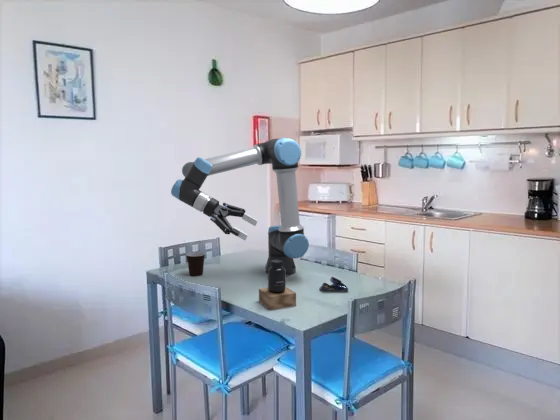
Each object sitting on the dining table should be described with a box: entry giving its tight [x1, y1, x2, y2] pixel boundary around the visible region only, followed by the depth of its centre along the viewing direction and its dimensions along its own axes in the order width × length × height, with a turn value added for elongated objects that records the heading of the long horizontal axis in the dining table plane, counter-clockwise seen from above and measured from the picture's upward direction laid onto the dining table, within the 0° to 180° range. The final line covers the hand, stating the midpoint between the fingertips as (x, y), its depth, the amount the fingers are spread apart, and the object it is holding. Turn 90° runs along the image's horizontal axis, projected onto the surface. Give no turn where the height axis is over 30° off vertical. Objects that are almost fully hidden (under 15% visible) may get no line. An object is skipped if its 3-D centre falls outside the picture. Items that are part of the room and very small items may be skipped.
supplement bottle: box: [267, 260, 287, 293], centre depth 176 cm, size 7×7×12 cm
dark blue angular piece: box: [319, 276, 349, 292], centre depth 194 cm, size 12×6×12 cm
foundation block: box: [258, 285, 297, 311], centre depth 177 cm, size 11×11×5 cm
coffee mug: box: [185, 251, 206, 277], centre depth 219 cm, size 12×9×10 cm
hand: (251, 230), depth 186 cm, fingers open, 13 cm apart
